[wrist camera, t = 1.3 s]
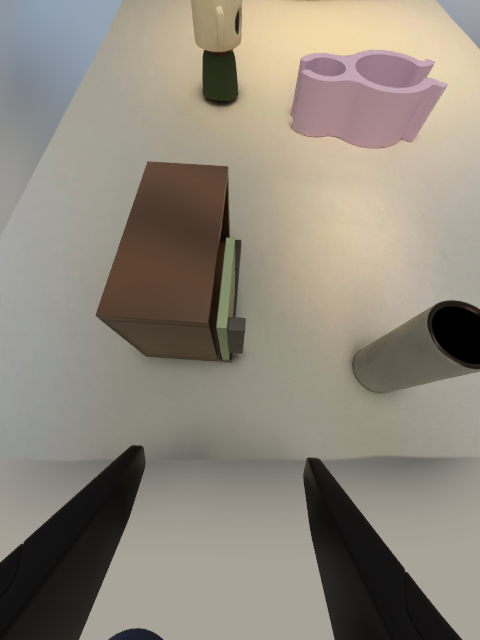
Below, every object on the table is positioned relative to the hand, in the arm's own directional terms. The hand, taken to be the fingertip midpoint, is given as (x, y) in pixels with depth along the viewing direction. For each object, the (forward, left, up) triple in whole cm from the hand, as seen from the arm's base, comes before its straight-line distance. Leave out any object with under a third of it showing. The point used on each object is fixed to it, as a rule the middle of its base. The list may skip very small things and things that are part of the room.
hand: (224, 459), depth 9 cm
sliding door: (+9, +7, -13) cm, 17 cm away
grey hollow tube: (+14, -7, -14) cm, 21 cm away
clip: (+50, +15, -14) cm, 54 cm away
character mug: (+42, +37, -14) cm, 57 cm away
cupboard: (+9, +13, -14) cm, 21 cm away
